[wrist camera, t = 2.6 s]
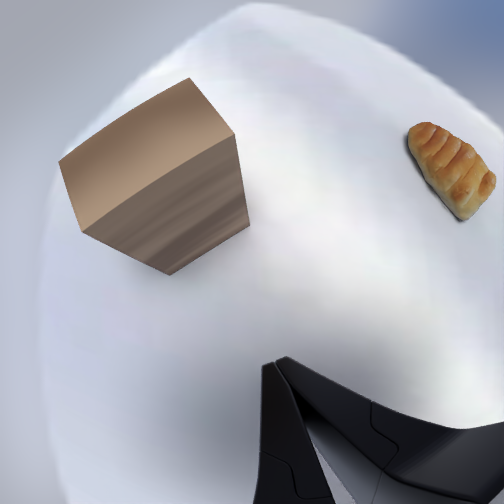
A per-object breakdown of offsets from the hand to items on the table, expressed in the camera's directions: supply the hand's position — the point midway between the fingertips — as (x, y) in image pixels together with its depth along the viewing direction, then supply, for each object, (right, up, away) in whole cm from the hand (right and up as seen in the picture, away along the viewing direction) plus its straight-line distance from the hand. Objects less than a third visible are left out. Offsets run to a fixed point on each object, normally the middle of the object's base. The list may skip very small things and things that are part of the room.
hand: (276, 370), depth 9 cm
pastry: (+17, +10, +15) cm, 25 cm away
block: (-5, +5, +14) cm, 16 cm away
